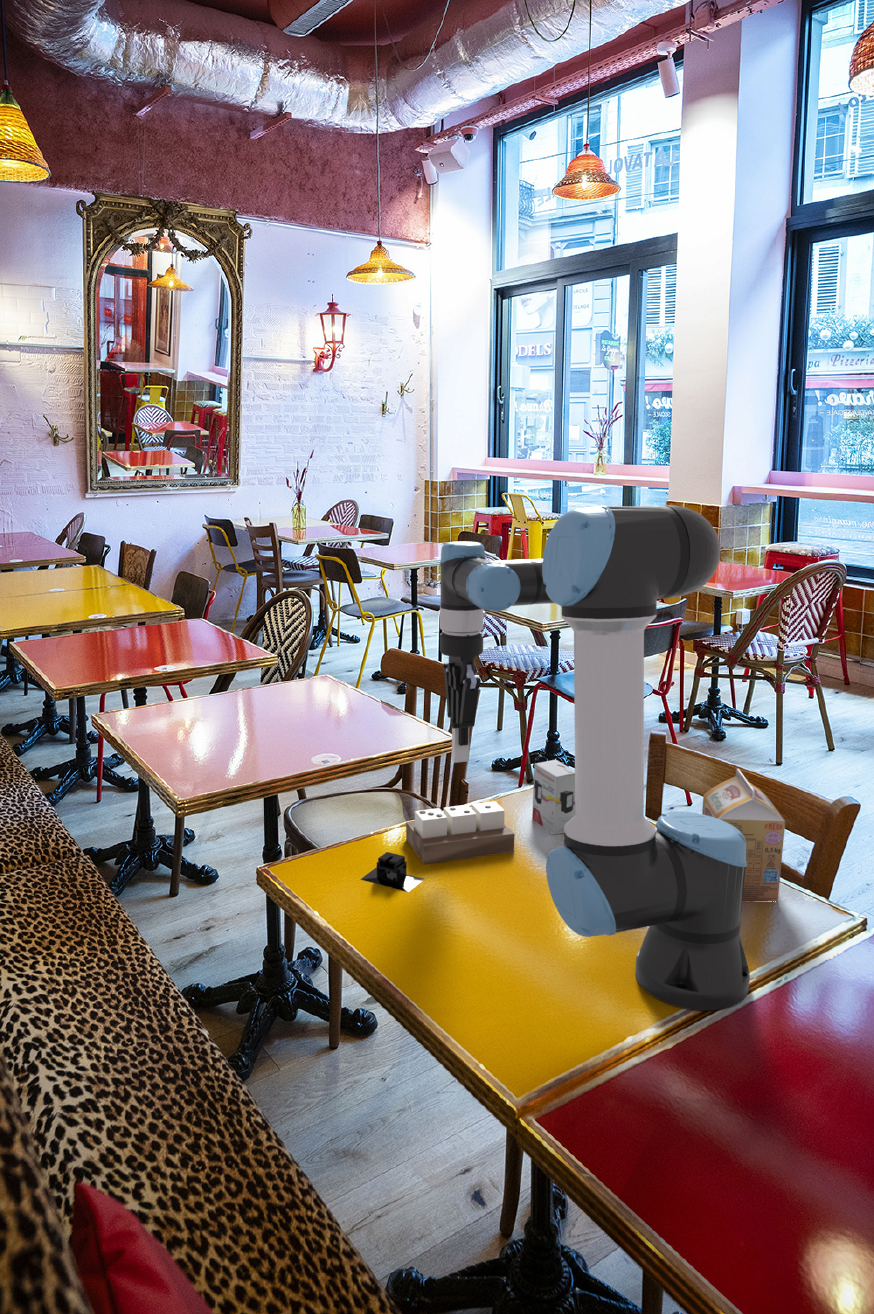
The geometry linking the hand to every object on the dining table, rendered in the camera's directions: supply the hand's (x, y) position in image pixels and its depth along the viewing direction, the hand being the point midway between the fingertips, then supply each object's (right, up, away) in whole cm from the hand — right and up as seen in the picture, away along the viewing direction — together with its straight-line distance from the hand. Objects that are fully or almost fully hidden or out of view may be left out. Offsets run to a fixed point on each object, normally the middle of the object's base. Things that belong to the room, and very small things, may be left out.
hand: (460, 760), depth 170 cm
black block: (-12, -20, -10) cm, 25 cm away
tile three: (-5, -14, +1) cm, 15 cm away
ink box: (+18, -14, +13) cm, 27 cm away
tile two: (0, -14, +3) cm, 14 cm away
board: (0, -16, +4) cm, 16 cm away
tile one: (+5, -13, +5) cm, 15 cm away
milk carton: (+46, -20, -12) cm, 51 cm away
